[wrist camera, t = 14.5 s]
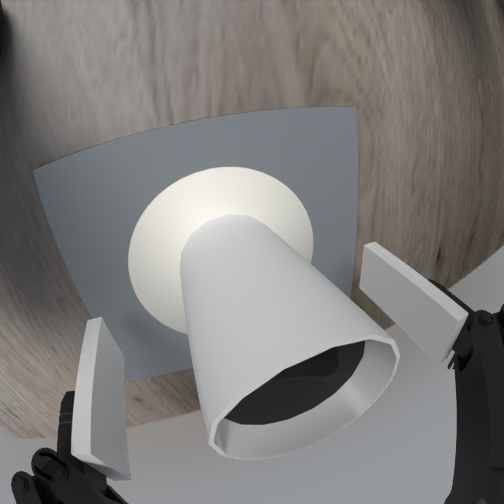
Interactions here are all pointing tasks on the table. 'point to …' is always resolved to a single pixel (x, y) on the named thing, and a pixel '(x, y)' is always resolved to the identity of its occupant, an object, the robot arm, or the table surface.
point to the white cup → (274, 343)
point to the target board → (197, 213)
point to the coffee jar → (1, 25)
